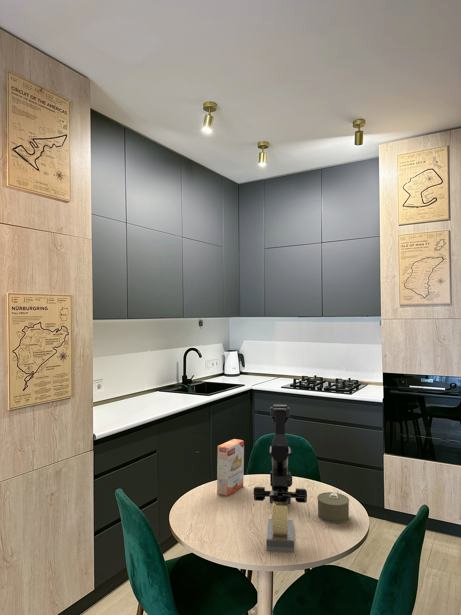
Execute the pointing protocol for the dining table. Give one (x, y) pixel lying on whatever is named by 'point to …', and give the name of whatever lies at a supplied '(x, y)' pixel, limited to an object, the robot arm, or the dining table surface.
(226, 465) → the cracker box
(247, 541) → the dining table surface
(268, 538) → the rail
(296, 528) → the dining table surface
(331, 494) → the can
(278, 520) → the lever
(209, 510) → the dining table surface
